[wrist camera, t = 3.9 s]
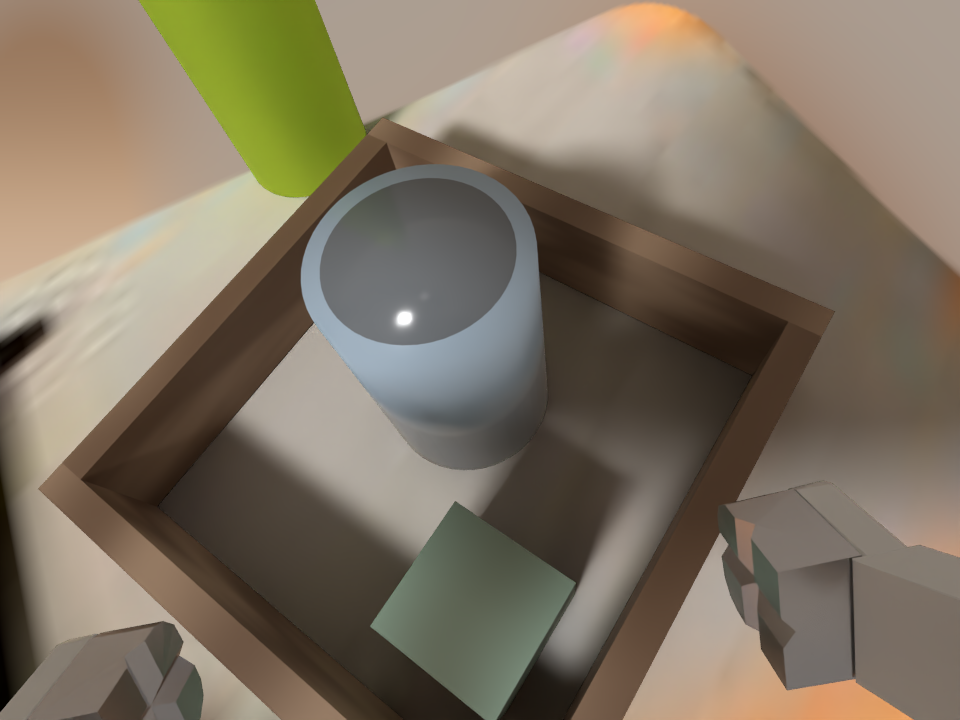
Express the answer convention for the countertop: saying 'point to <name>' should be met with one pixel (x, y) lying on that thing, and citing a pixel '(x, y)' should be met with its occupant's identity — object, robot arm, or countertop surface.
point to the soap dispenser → (267, 84)
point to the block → (475, 611)
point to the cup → (436, 309)
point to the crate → (284, 319)
